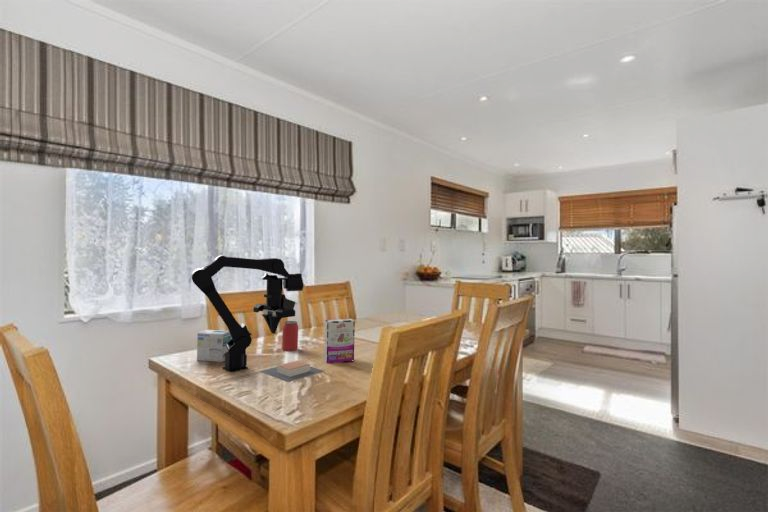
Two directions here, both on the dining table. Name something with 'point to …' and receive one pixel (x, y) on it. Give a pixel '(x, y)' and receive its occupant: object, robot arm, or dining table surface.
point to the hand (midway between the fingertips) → (273, 333)
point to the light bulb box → (212, 345)
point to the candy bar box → (339, 340)
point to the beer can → (290, 336)
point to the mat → (285, 378)
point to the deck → (293, 368)
